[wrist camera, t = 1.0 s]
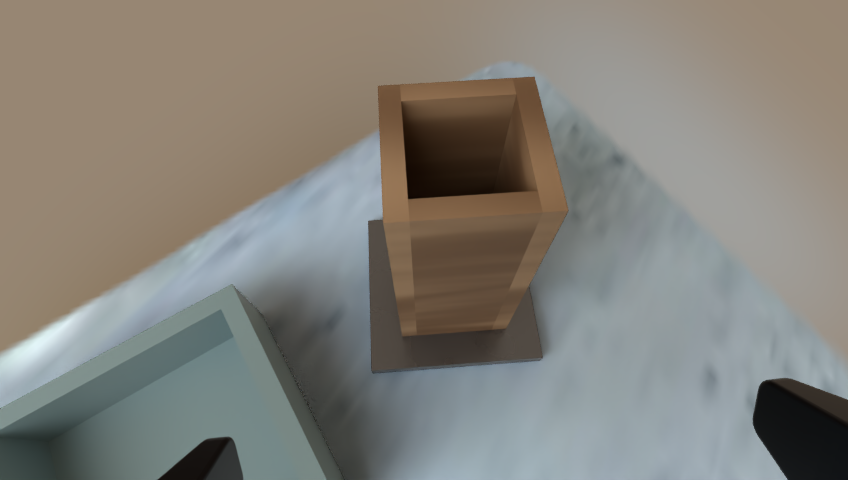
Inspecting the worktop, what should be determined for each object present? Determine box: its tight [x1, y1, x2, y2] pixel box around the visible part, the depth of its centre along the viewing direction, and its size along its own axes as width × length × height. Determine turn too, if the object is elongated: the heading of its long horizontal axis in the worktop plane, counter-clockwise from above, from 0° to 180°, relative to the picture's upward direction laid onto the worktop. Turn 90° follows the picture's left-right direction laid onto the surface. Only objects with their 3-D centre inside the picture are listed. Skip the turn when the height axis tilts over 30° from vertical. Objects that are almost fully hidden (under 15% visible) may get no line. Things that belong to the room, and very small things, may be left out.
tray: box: [0, 284, 344, 480], centre depth 18 cm, size 11×11×4 cm
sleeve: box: [378, 77, 568, 336], centre depth 18 cm, size 5×5×11 cm
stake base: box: [368, 220, 543, 373], centre depth 22 cm, size 8×8×5 cm
